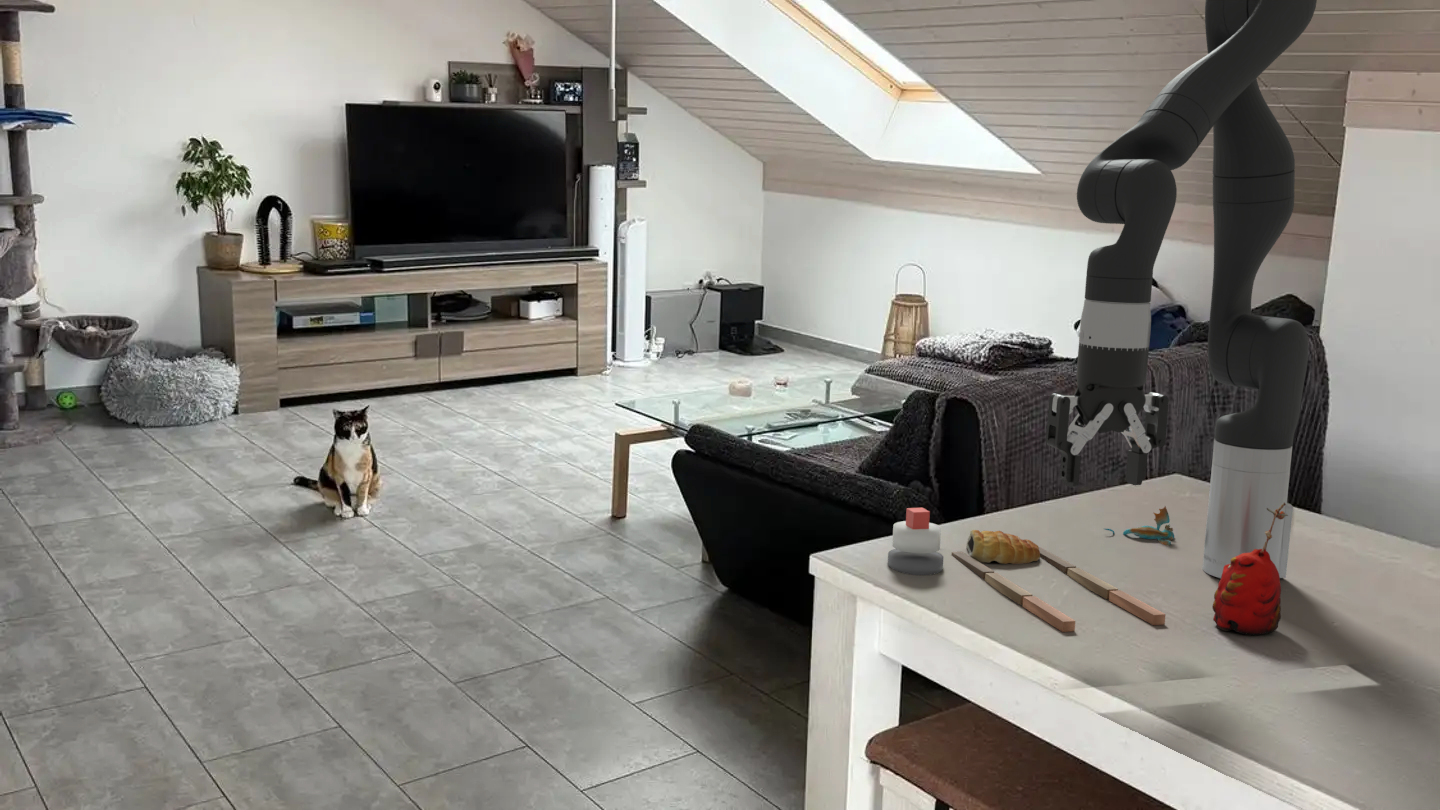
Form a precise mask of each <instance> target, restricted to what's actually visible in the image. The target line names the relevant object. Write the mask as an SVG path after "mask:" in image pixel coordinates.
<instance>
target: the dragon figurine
mask: <svg viewBox="0 0 1440 810" xmlns="http://www.w3.org/2000/svg"><path fill="white" fill-rule="evenodd" d="M1158 510H1159V512H1158V513H1155V512H1154V511H1153V513H1152V514H1154V517H1155V518H1153V520H1154V521H1155V524H1156V527H1154V526H1151V525H1142V526H1140V527H1132V528H1127V529H1125V530H1124V531H1123V532H1122V534H1123V535H1124V536H1126V535H1128V534H1135V535H1137V536H1139V538H1141V539H1146V540H1157V542H1159V544H1162V545H1163V546H1167V547H1170V546H1171V541H1172V540H1174V539H1175V533H1174V528H1173V527H1171V525H1170V524H1169V523H1170V520H1171V519H1170V514H1169V512H1168V509H1167V507H1166V505H1164V507H1163V508H1159V509H1158ZM1165 524H1166V525H1165ZM1167 524H1168V525H1167ZM1162 525H1164V529H1163V530H1161V526H1162ZM1104 530H1105V531H1109V532H1112V533H1113V534H1115V531H1114V530H1113V529H1111V528H1104Z"/></svg>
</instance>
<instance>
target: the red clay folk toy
mask: <svg viewBox="0 0 1440 810" xmlns="http://www.w3.org/2000/svg"><path fill="white" fill-rule="evenodd" d="M1285 505H1286V504H1285V503H1283V504H1282V505H1281V506H1280V507H1279V508H1278V509H1276V510H1275V511H1274V512H1273V511H1271V510H1270V509H1268V508H1267V510H1268V511H1270V512H1271V513H1273V515H1274V518H1273V522H1272V525H1271V527H1270V530H1269V531H1266V532H1265V534H1266V536H1267V539H1266V542H1265V544H1264V546H1263V549H1259V550H1258V549H1254V550H1253V551H1252V552H1250V553H1242V554H1240V555H1238V556H1236V557H1233V558H1232V559H1231V560H1230V561H1231V564H1227V565H1225V566H1224V568H1223V573H1222V576H1221V578H1219V579H1220V580H1219V582H1218V585H1217V588H1216V590H1215V592H1214V596H1213V599H1214V600H1213V604H1212V610H1213V612H1214V615H1213V622H1215V624H1216V628H1217V629H1219V630H1221V631H1224V632H1230V631H1233V630H1234V632H1236V633H1239V634H1242V635H1246V636H1257V635H1264V634H1265V635H1266V634H1268V633H1273V632H1275V631H1276V630H1278V628H1279V623H1280V621H1281V619H1282V618H1281V617H1282V614H1281V612H1282V611H1281V610H1282V608H1281V607H1282V606H1281V593H1282V586H1281V578H1280V576H1279V573H1278V570H1277V568H1276V566H1275V564H1274V563H1273V562H1272V561H1271V559H1270V555H1269V553H1268V552H1267V551H1266V547H1267V543H1268V540H1270V539H1271V538H1272V535H1271V531H1272V527H1273V525H1274V522H1275V518H1278V519H1283V518H1284V517H1285V516H1288V515H1287V514H1285V513H1284V512H1283V511H1281V512H1280V513H1279V511H1280V510H1281V509H1282V508H1283V506H1285Z"/></svg>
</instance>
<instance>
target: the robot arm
mask: <svg viewBox="0 0 1440 810" xmlns="http://www.w3.org/2000/svg"><path fill="white" fill-rule="evenodd" d="M1317 1H1318V0H1205V4H1204V26H1205V27H1204V28H1205V38H1206V39H1205V40H1206V41H1205V42H1206V48H1207V54H1206V55H1205V56H1203V57H1202V58H1200V59H1199V60H1197V61H1195V62H1194V63H1193V64H1191V65H1190V66H1188V67H1187V68H1185V69H1184V70H1182V71H1181V72H1180V73H1178V74H1177V75H1176V76H1175V77H1174V78H1172V79H1171V80H1170V81H1169V82H1168V83H1167V84H1166V85H1165V86H1164V87H1163V88H1162V89H1161V90H1160V92H1159V93H1158V94H1157V95H1156V97H1154V99H1153V100H1152V102H1151V103H1150V105H1149V106H1148V108H1147V109H1146V110H1145V111H1144V113H1143V114H1142V115H1141V116H1140V118H1139V120H1138V121H1137V123H1136V124H1135V125H1133V126H1132V127H1131V128H1129V129H1128V130H1127V131H1125V132H1124V133H1123V134H1121V135H1120V136H1119V137H1118V138H1116V139H1115V140H1114V141H1112V142H1111V143H1110V144H1108V146H1106V147H1105V148H1104V149H1103V150H1102V151H1100V152H1099V153H1098V154H1097V155H1096V156H1095V157H1094V158H1093V159H1092V160H1091V161H1090V162H1089V163H1088V164H1087V166H1086V167H1085V169H1084V170H1083V171H1082V174H1081V175H1080V179H1079V180H1078V183H1077V188H1076V200H1077V201H1076V202H1077V205H1078V208H1079V211H1080V212H1081V213H1082V215H1083V216H1084V217H1086V219H1088V220H1090V221H1092V222H1094V223H1097V224H1098V223H1100V224H1109V225H1110V224H1111V225H1118V224H1119V225H1123V228H1122V231H1121V233H1120V234H1119V237H1118V239H1117V240H1116V242H1115V243H1113V244H1110V245H1103V246H1099V247H1097V248H1095V249H1093V250H1092V251H1091V252H1090V254H1089V256H1088V259H1087V265H1086V275H1085V276H1086V278H1085V288H1084V301H1083V307H1082V311H1081V317H1080V322H1079V323H1080V325H1079V332H1078V333H1079V334H1078V337H1079V338H1078V350H1077V361H1076V362H1077V364H1076V382H1077V383H1076V384H1077V386H1076V387H1077V388H1076V391H1075V392H1074V394H1073V395H1063V394H1060V393H1056V392H1055V393H1052V394H1051V395H1050V396H1049V399H1048V400H1049V401H1048V412H1047V423H1046V432H1045V433H1046V435H1045V444H1046V445H1047V446H1049V447H1052V448H1054V449H1057V450H1059V451H1060V468H1059V469H1060V470H1059V477H1060V480H1061V481H1062V482H1063V484H1064V485H1065V486H1067V487H1069V488H1078V487H1079V485H1080V471H1081V459H1082V455H1081V454H1080V452H1081V451H1082V450H1083V448H1084V446H1085V445H1086V444H1087V443H1088V442H1089V441H1090V440H1092V439H1093V438H1094V436H1095V435H1096V434H1097V433H1108V432H1111V431H1113V432H1114V433H1115V432H1116V433H1121V435H1123V436H1124V437H1125V439H1126V442H1127V443H1128V445H1129V447H1130V448H1131V449H1129V450H1128V449H1127V457H1126V458H1127V459H1126V470H1125V471H1126V472H1125V481H1126V483H1127V484H1129V485H1132V486H1141V485H1142V483H1143V481H1144V480H1145V478H1146V476H1147V467H1148V465H1147V464H1148V457H1149V453H1150V451H1151V450H1154V449H1156V448H1163V447H1164V446H1165V445H1166V441H1167V440H1166V439H1167V428H1168V414H1169V412H1168V411H1169V401H1170V400H1169V397H1168V396H1167V395H1166V394H1162V393H1159V392H1154V391H1150V392H1149V393H1147V394H1145V393H1144V385H1145V384H1146V383H1147V378H1148V377H1147V375H1148V363H1149V352H1150V339H1151V329H1152V314H1151V301H1152V290H1153V275H1154V266H1155V263H1156V261H1157V258H1158V255H1159V252H1160V249H1161V247H1162V243H1163V240H1164V238H1165V235H1166V233H1167V229H1168V227H1169V224H1170V221H1171V218H1172V217H1173V213H1174V210H1175V206H1176V202H1177V194H1178V191H1177V190H1178V189H1177V184H1176V183H1177V182H1176V179H1175V176H1174V174H1173V171H1174V170H1176V169H1179V168H1181V167H1183V165H1185V164H1186V163H1187V162H1188V161H1189V160H1190V158H1192V156H1193V155H1194V154H1195V152H1196V151H1197V150H1198V148H1199V147H1200V145H1201V144H1202V143H1203V142H1204V141H1203V140H1204V139H1205V138H1206V137H1207V135H1209V132H1210V131H1211V130H1212V131H1213V132H1212V133H1213V134H1212V137H1213V140H1212V141H1213V146H1212V147H1213V149H1212V150H1213V152H1212V156H1213V157H1212V211H1213V274H1212V287H1211V300H1210V310H1209V320H1208V321H1209V322H1208V324H1209V325H1208V337H1207V360H1208V367H1209V370H1210V374H1211V375H1212V376H1213V378H1214V380H1215V381H1217V382H1218V383H1220V384H1222V385H1225V386H1231V387H1236V388H1237V387H1238V388H1244V389H1251V390H1255V391H1258V393H1257V398H1256V402H1255V404H1254V406H1252V407H1251V408H1249V409H1247V410H1244V411H1240V412H1236V413H1229V414H1226V415H1222V416H1220V417H1219V418H1218V419H1217V420H1216V422H1215V427H1214V438H1213V448H1212V449H1213V450H1212V451H1213V452H1212V461H1211V469H1210V470H1211V471H1210V473H1211V474H1210V480H1209V481H1210V485H1209V495H1208V501H1207V502H1208V505H1207V515H1206V525H1205V526H1206V527H1205V537H1204V544H1203V545H1204V549H1203V558H1202V571H1204V573H1206V574H1207V575H1210V576H1213V577H1214V578H1215V577H1216V578H1218V579H1221V576H1222V573H1223V568H1224V566H1225V565H1227V564H1231V561H1230V560H1231V559H1232V558H1233V557H1236V556H1238V555H1240V554H1242V553H1250V552H1252V551H1253V550H1254V549H1258V550H1259V549H1263V546H1264V544H1265V542H1266V539H1267V536H1266V534H1265V532H1266V531H1269V530H1270V527H1271V525H1272V522H1273V518H1274V515H1273V513H1271V512H1270V511H1268V510H1267V508H1268V509H1270V510H1271V511H1273V512H1274V511H1275V510H1276V509H1278V508H1279V507H1280V506H1281V505H1282V504H1283V503H1285V504H1286V505H1285V506H1283V508H1282V509H1281V510H1280V511H1279V513H1280V512H1281V511H1283V512H1284V513H1285V514H1287V515H1288V516H1285V517H1284V518H1283V519H1278V518H1275V522H1274V525H1273V527H1272V531H1271V535H1272V538H1271V539H1270V540H1268V543H1267V547H1266V551H1267V552H1268V553H1269V555H1270V559H1271V561H1272V562H1273V563H1274V564H1275V566H1276V568H1277V570H1278V573H1279V576H1280V579H1283V578H1285V579H1286V577H1287V568H1288V561H1289V560H1288V559H1289V552H1290V551H1289V549H1290V541H1291V531H1292V521H1293V520H1292V519H1293V511H1294V510H1293V509H1294V507H1293V505H1292V504H1291V503H1289V502H1288V494H1289V485H1290V484H1289V483H1290V477H1291V476H1290V475H1291V466H1292V465H1291V464H1292V454H1293V445H1294V437H1295V432H1296V429H1297V426H1298V423H1299V419H1300V412H1301V406H1302V399H1303V392H1304V386H1305V379H1306V374H1307V369H1308V363H1309V362H1308V360H1309V350H1310V348H1309V347H1310V345H1309V337H1308V333H1307V330H1306V329H1305V326H1304V325H1303V324H1302V323H1301V322H1300V321H1298V320H1295V319H1292V318H1286V317H1284V318H1283V317H1276V316H1275V317H1274V316H1265V315H1264V316H1263V315H1254V314H1252V295H1253V289H1254V283H1255V280H1256V276H1257V273H1258V272H1259V269H1260V268H1261V265H1262V263H1263V262H1264V260H1265V259H1266V258H1267V256H1268V254H1269V253H1270V251H1271V249H1272V248H1273V247H1274V245H1275V244H1276V243H1277V241H1278V240H1279V239H1280V237H1281V235H1282V233H1284V230H1285V229H1286V227H1287V225H1288V224H1289V221H1290V219H1291V217H1292V215H1293V211H1294V207H1295V184H1296V183H1295V182H1296V181H1295V178H1296V177H1295V171H1296V170H1295V169H1296V162H1295V153H1294V150H1293V148H1292V144H1291V142H1290V141H1289V139H1288V137H1287V134H1286V133H1285V132H1284V129H1283V128H1282V126H1281V124H1280V123H1279V121H1278V120H1277V117H1276V116H1275V115H1274V114H1273V112H1272V111H1271V108H1270V107H1269V105H1268V103H1267V102H1266V100H1265V98H1264V95H1263V94H1262V92H1261V88H1260V86H1259V83H1258V77H1259V76H1260V75H1262V74H1263V72H1264V71H1265V70H1266V69H1267V68H1269V67H1270V65H1272V64H1273V62H1275V61H1276V60H1277V59H1278V58H1279V57H1280V56H1281V55H1282V54H1283V53H1284V52H1285V51H1286V50H1287V49H1288V48H1289V47H1291V46H1292V44H1294V43H1295V42H1296V41H1297V40H1298V38H1300V36H1301V35H1302V34H1303V33H1304V32H1305V30H1306V29H1307V27H1308V26H1309V25H1310V22H1311V21H1312V19H1313V17H1314V13H1315V10H1316V9H1317V7H1316V6H1317V3H1318V2H1317ZM1074 408H1075V409H1076V411H1077V414H1076V415H1075V417H1074V419H1073V420H1072V421H1071V423H1070V422H1069V421H1070V415H1071V414H1073V412H1074ZM1142 410H1144V411H1145V419H1144V425H1143V424H1142V422H1141V420H1140V418H1139V416H1138V415H1140V413H1141V411H1142ZM1069 423H1070V424H1069ZM1084 426H1085V427H1084Z"/></svg>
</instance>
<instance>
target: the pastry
mask: <svg viewBox="0 0 1440 810" xmlns="http://www.w3.org/2000/svg"><path fill="white" fill-rule="evenodd" d="M969 533H970V534H969V536H968V538H967V541H966V549H967V550H968V553H969V554H968V556H970V557H972V558H973V559H975V560H977V561H978V562H980V563H991V562H994V561H995V562H997V563H998V564H1005V565H1007V564H1013V565H1015V564H1016V565H1017V564H1018V565H1019V564H1030V563H1032V562H1038V560H1040V558H1041V557H1040V551H1039V545H1038V544H1036V543H1035V542H1034V541H1032V540H1030V539H1022V538H1020V537H1019V536H1018V535H1014V534H1010V533H1005V532H1004V531H1001V530H995V531H991V530H982V531H980V530H978V529H972V530H970V532H969Z"/></svg>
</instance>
